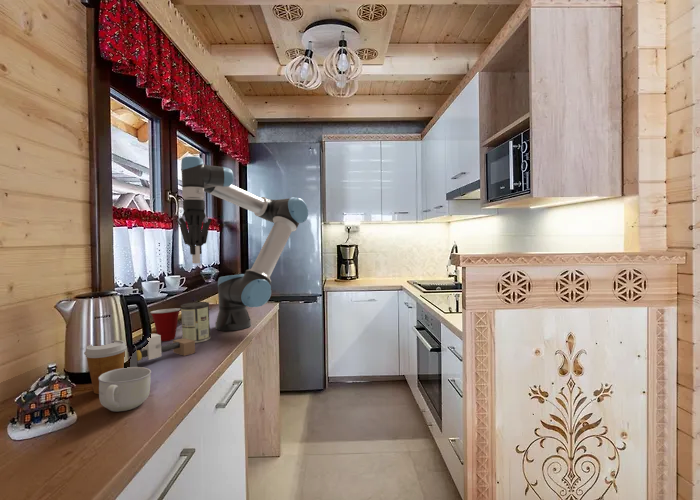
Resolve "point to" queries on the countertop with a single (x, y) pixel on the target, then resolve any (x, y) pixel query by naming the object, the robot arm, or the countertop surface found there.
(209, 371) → the countertop surface
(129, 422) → the countertop surface
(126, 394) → the teacup
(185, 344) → the cord rail
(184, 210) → the robot arm
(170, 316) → the plastic cup
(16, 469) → the countertop surface
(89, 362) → the disposable coffee cup
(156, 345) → the white upright block
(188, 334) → the coffee can
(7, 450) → the countertop surface
